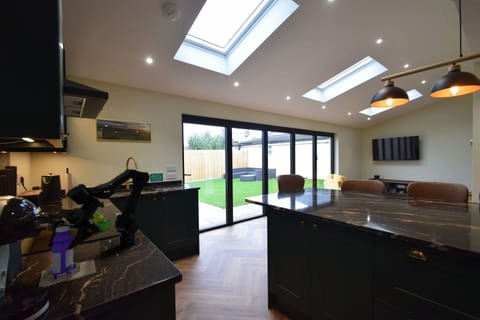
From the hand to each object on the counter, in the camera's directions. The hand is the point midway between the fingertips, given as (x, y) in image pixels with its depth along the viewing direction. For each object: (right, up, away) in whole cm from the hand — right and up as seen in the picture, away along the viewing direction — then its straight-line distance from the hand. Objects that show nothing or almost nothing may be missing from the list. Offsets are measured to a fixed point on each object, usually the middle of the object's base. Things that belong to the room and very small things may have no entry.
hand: (58, 248), depth 76 cm
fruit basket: (-23, -12, +56) cm, 61 cm away
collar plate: (+1, -11, +3) cm, 11 cm away
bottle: (0, -10, +1) cm, 11 cm away
